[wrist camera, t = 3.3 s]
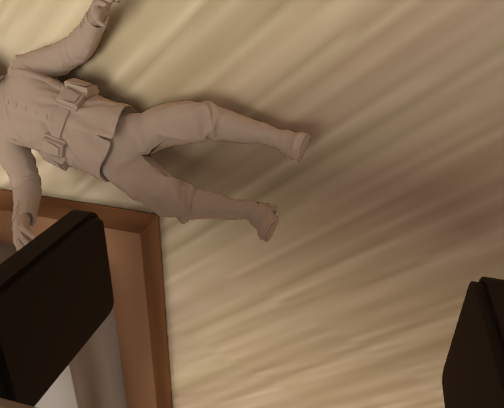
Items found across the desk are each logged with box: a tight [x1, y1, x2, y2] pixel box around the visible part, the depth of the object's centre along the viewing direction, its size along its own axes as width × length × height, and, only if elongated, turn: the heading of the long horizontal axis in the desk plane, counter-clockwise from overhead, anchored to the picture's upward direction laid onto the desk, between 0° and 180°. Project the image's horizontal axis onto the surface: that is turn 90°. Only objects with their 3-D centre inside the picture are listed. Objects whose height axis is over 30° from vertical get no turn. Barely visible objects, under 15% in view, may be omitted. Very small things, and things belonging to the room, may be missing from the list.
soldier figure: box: [0, 0, 310, 251], centre depth 15 cm, size 8×5×12 cm
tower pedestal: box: [0, 189, 172, 408], centre depth 20 cm, size 13×13×4 cm
